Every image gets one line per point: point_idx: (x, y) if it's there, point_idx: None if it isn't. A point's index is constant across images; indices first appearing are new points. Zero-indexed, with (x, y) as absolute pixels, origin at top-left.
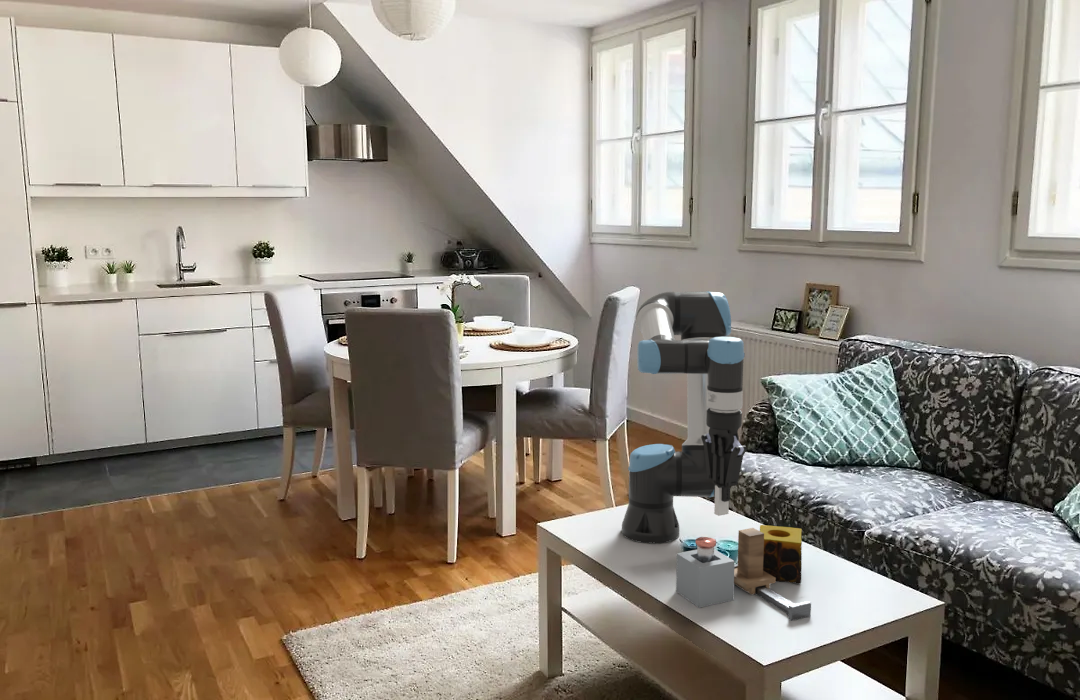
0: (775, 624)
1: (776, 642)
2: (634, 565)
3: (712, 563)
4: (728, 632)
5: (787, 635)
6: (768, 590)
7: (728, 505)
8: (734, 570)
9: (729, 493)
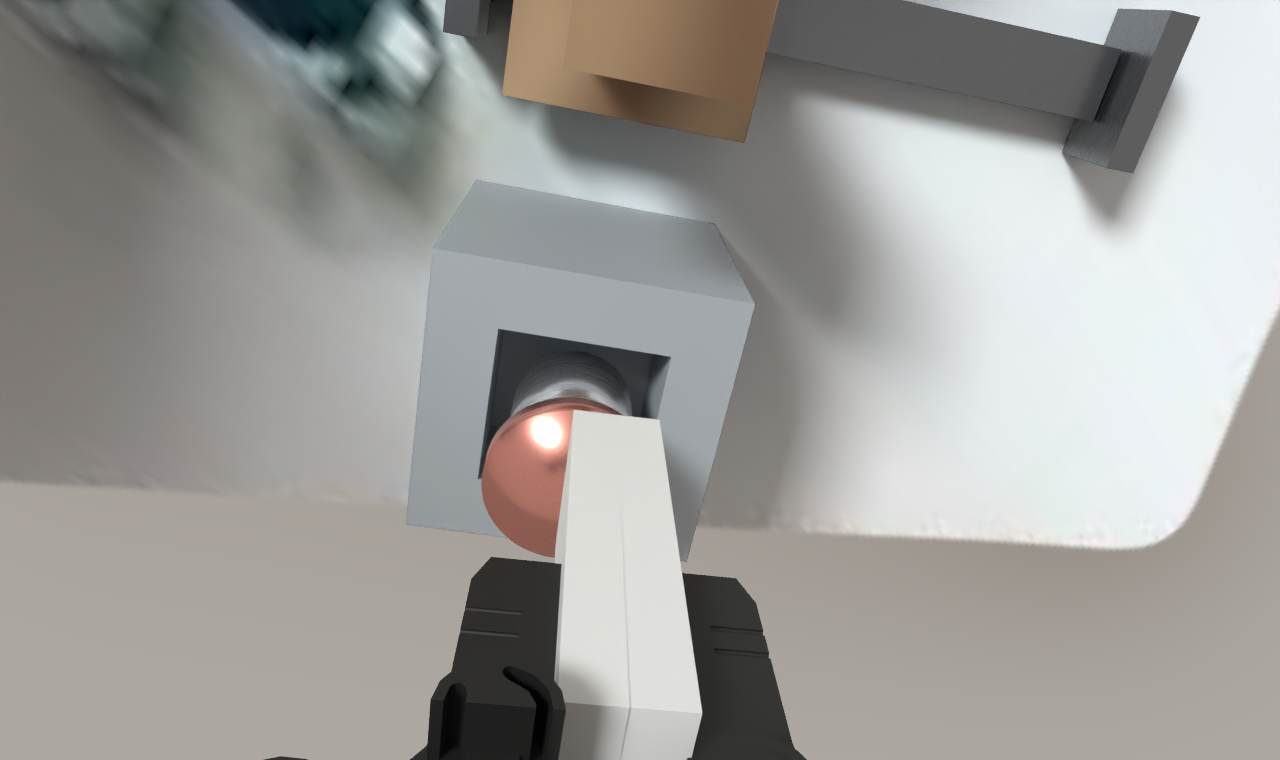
0: (1041, 259)
1: (1133, 391)
2: (14, 354)
3: (685, 455)
4: (923, 488)
5: (1143, 301)
6: (831, 11)
7: (667, 481)
8: (536, 30)
9: (772, 685)
